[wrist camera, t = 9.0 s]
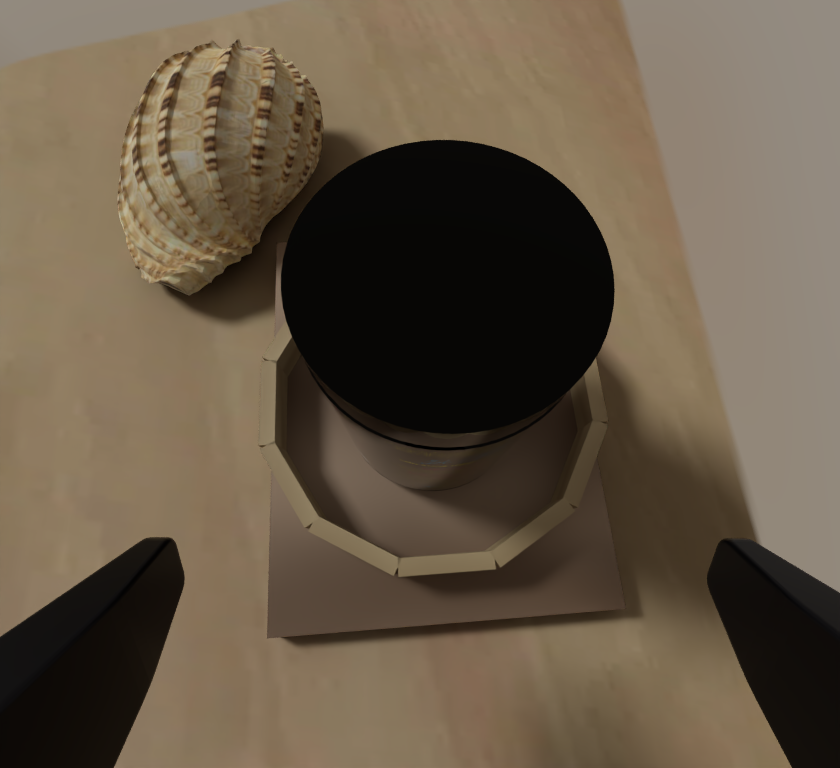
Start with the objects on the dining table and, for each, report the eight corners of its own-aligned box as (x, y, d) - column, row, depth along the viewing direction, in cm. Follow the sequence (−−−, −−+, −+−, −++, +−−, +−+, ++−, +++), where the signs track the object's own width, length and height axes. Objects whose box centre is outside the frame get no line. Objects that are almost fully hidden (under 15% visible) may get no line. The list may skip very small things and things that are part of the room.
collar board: (616, 606, 16) (648, 614, 14) (274, 634, 16) (251, 647, 13) (548, 239, 20) (564, 201, 18) (282, 254, 20) (265, 218, 18)
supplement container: (548, 437, 17) (687, 322, 8) (401, 529, 16) (386, 508, 7) (456, 306, 18) (492, 95, 10) (317, 382, 17) (222, 221, 9)
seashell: (330, 306, 23) (335, 75, 21) (297, 298, 17) (301, -23, 15) (163, 298, 23) (159, 67, 21) (70, 288, 17) (57, -33, 16)
